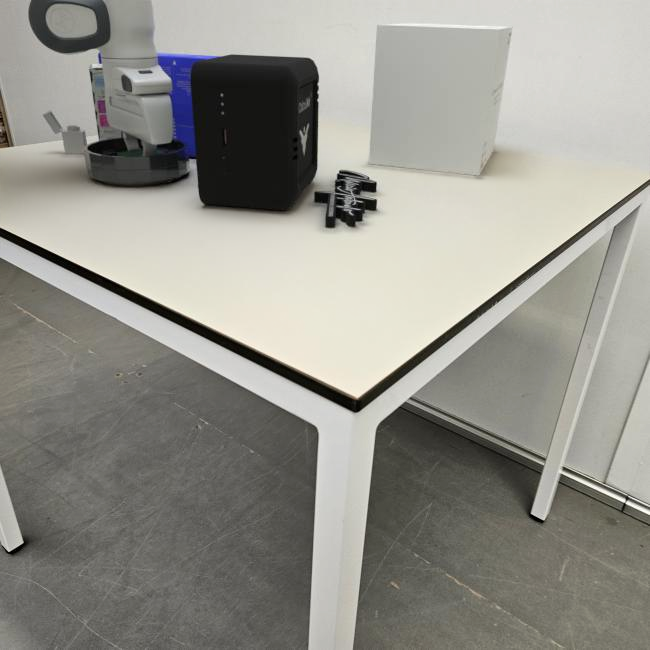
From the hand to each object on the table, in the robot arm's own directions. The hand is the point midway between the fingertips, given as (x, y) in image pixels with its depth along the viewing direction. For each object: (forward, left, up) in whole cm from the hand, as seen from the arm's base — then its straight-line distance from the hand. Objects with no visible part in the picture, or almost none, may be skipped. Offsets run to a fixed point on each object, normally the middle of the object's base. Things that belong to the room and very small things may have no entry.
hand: (142, 162), depth 105 cm
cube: (+57, -16, -3) cm, 59 cm away
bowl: (0, +1, -3) cm, 3 cm away
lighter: (-5, +25, -3) cm, 26 cm away
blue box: (+16, +12, -3) cm, 20 cm away
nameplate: (+21, -31, -3) cm, 37 cm away
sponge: (0, 0, -2) cm, 2 cm away
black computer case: (+12, -21, -3) cm, 24 cm away
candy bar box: (+2, +19, -3) cm, 19 cm away
